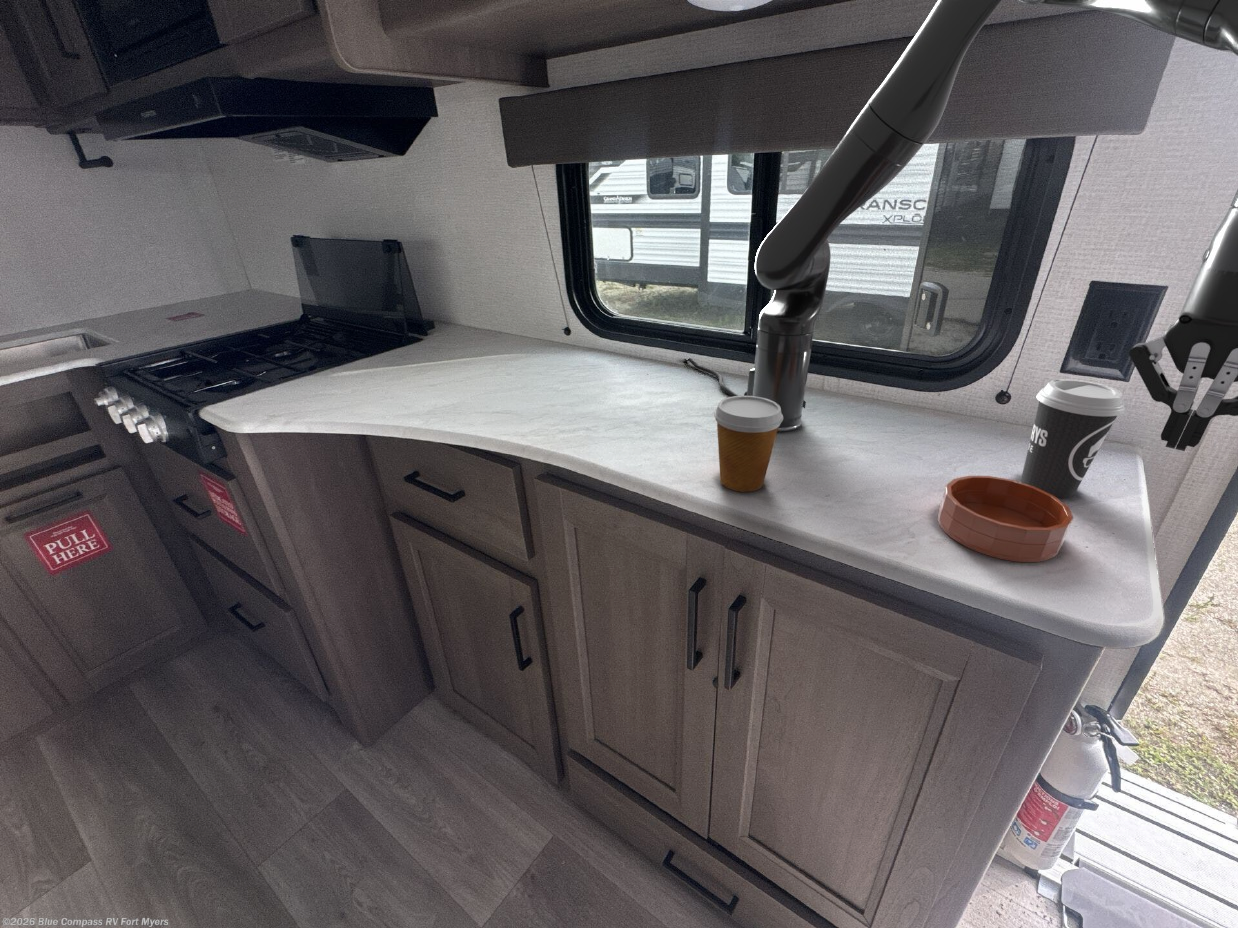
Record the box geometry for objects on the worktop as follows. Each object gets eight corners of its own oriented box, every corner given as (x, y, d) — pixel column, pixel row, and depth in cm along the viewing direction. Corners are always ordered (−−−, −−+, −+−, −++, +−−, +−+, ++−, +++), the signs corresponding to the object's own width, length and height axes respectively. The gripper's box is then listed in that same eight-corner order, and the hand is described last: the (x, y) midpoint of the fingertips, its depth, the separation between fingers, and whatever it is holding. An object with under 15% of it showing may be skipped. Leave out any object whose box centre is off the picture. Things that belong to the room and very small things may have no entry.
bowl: (920, 529, 72) (928, 498, 70) (960, 494, 80) (968, 466, 78) (1040, 577, 63) (1054, 543, 61) (1072, 532, 71) (1085, 501, 69)
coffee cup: (1055, 471, 86) (1091, 376, 79) (1105, 503, 78) (1151, 400, 71) (993, 472, 86) (1024, 377, 79) (1037, 504, 77) (1076, 401, 71)
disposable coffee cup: (783, 495, 80) (794, 417, 75) (717, 499, 80) (723, 420, 74) (763, 465, 89) (771, 393, 83) (703, 468, 88) (707, 395, 83)
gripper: (1379, 268, 47) (1272, 456, 54) (1168, 255, 55) (1102, 419, 63) (1384, 278, 42) (1267, 482, 50) (1154, 262, 51) (1085, 438, 59)
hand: (1175, 446), depth 57 cm, fingers closed
